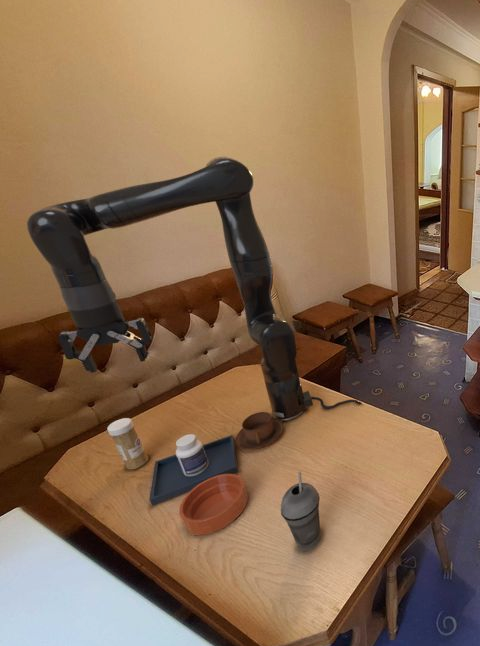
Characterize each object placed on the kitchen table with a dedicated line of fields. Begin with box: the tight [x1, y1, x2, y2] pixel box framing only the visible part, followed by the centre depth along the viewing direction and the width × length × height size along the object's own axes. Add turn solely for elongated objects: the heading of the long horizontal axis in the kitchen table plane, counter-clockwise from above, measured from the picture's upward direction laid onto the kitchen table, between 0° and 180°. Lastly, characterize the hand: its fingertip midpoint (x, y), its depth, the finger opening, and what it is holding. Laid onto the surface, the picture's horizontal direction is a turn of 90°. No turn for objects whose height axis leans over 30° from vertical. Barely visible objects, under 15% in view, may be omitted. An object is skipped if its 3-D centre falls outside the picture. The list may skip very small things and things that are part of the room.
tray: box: [149, 434, 239, 507], centre depth 92 cm, size 17×13×2 cm
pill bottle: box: [175, 433, 209, 476], centre depth 90 cm, size 5×5×10 cm
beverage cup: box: [280, 471, 321, 552], centre depth 73 cm, size 7×7×20 cm
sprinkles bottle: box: [106, 417, 149, 470], centre depth 91 cm, size 5×5×14 cm
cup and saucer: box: [235, 411, 284, 450], centre depth 102 cm, size 12×12×6 cm
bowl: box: [178, 473, 249, 536], centre depth 82 cm, size 12×12×4 cm
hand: (119, 365), depth 83 cm, fingers open, 8 cm apart
